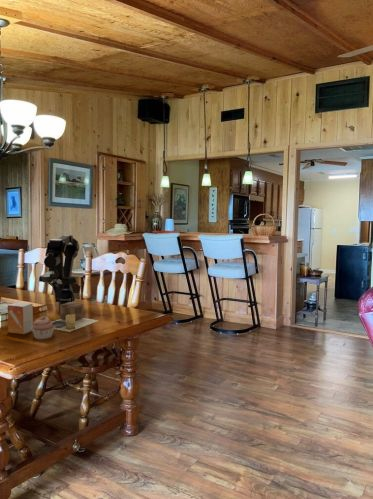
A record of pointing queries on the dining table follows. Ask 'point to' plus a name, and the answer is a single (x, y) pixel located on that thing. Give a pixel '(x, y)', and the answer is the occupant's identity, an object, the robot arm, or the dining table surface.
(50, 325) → the cupcake
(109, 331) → the dining table surface
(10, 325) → the small box
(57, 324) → the board
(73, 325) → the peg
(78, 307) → the housing
